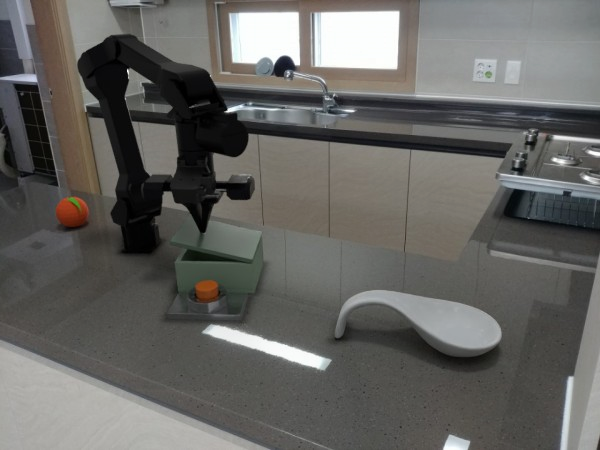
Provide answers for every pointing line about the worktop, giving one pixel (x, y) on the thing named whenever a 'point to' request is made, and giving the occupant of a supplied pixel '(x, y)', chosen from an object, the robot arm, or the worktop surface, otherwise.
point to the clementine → (72, 212)
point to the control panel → (208, 306)
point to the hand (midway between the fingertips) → (203, 232)
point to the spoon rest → (433, 321)
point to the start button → (207, 290)
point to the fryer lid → (218, 240)
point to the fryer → (218, 270)
